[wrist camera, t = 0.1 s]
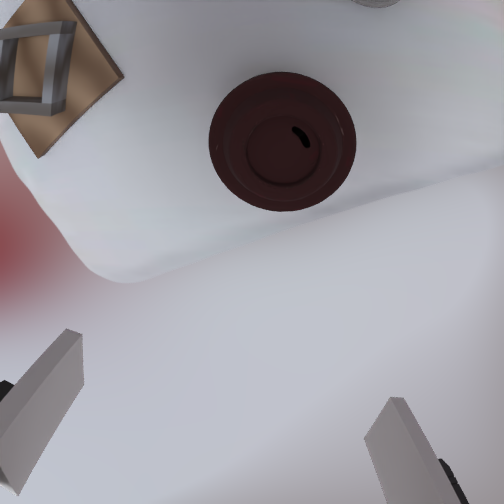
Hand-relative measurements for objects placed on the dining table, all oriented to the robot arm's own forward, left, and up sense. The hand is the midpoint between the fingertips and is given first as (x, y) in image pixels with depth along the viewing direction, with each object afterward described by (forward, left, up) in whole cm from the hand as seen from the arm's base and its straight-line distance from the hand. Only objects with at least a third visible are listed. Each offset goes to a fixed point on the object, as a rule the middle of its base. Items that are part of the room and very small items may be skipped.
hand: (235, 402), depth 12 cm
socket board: (+16, -27, -28) cm, 42 cm away
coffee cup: (-4, -4, -28) cm, 29 cm away
